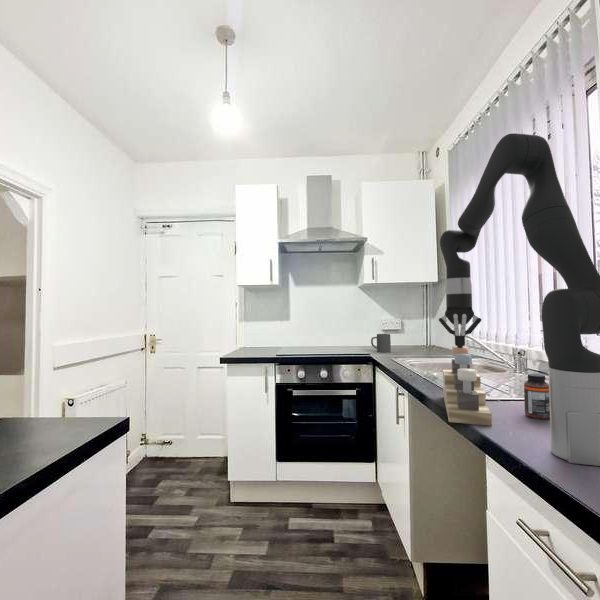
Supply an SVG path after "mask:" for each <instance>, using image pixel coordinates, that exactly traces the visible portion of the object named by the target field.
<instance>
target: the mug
mask: <svg viewBox="0 0 600 600" xmlns="http://www.w3.org/2000/svg"><path fill="white" fill-rule="evenodd" d="M374 339H376V345H374ZM370 344H371V346H372V347H373V348H374V349H376V353H381V354H382V353H383V354H385V353H387V354H388V353H391V351H392V350H391V348H392V347H391V344H392V343H391V334H390V333H377V334H376V336H373V337H371V340H370Z"/></svg>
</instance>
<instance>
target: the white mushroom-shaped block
mask: <svg viewBox="0 0 600 600" xmlns="http://www.w3.org/2000/svg"><path fill="white" fill-rule="evenodd" d="M457 370H458V380H461V381H463V393H471V381H476V380H477V377H476V372H477V369H474V368H470V369H466V368H461V369H457Z"/></svg>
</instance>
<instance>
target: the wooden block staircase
mask: <svg viewBox="0 0 600 600" xmlns="http://www.w3.org/2000/svg"><path fill="white" fill-rule="evenodd" d="M470 367H471V364H470V365H467V369H471V368H470ZM457 369H460V364H455V358H451V369H442V386H443V387H442V388H443V391H442V392H443V393H442V394H443V396H442V397H443V401H444V406H445V410H446V415H447V416H446V417H447V418H448V419H447V420H448V423H458V424H467V425H470V424H471V425H480V426H482V425H483V426H492V424H493V422H492V421H493V417H492V415H493V414H492V412H491V410H490V409H489V407H488V406H487V402H486V401H487V400H486V399H487V398H486V396H487V395H486V392H485V390H484V389H483V387H482V386H481V385H482V384H481V382H482V381H481V375H480V374H479V372H478V371H476V377H477V380H476V381H471V393H463V381H461V380H458V370H457Z"/></svg>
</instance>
